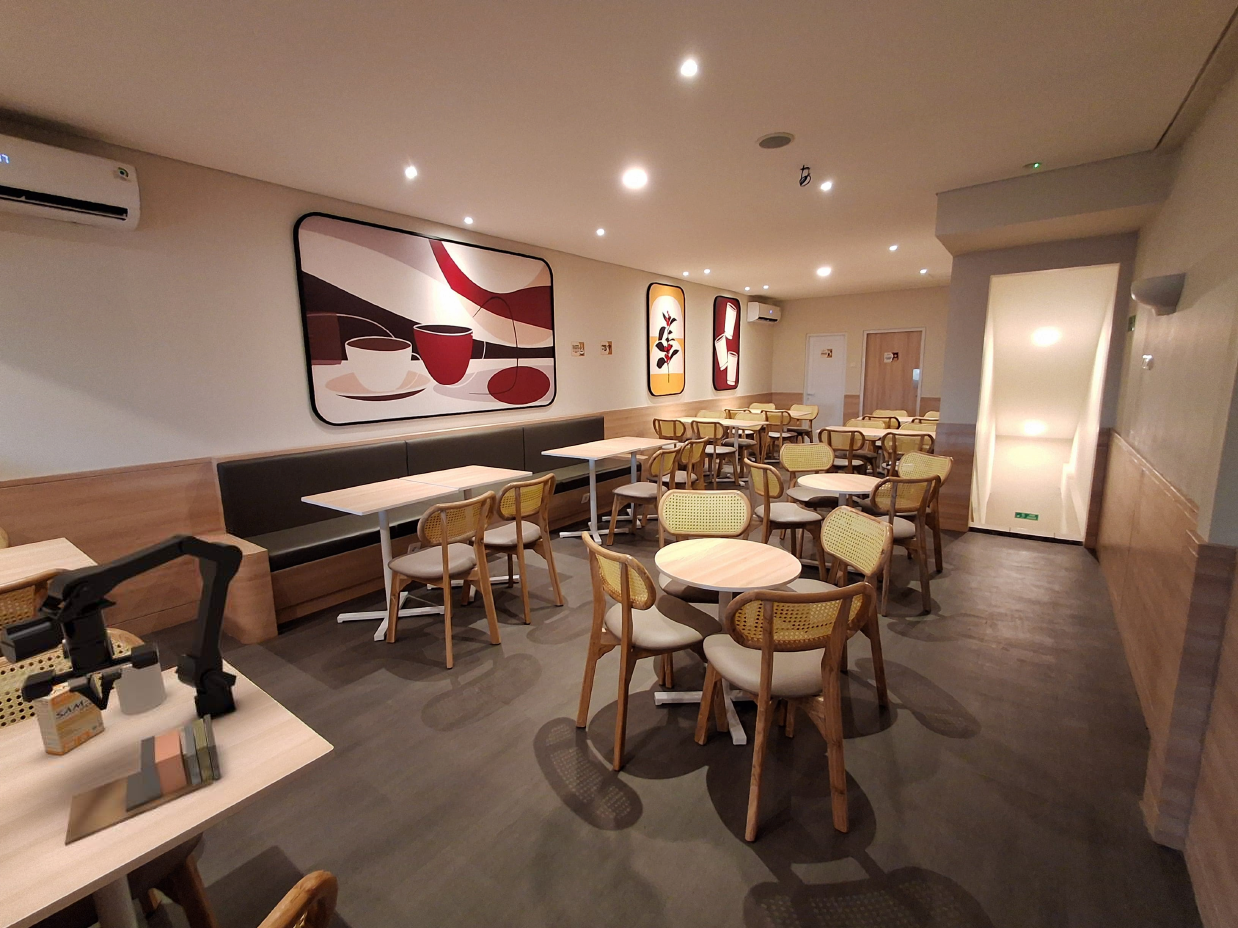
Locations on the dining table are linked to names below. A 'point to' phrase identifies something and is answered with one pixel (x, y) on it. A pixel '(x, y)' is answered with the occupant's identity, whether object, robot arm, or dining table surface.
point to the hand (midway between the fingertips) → (104, 708)
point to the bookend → (144, 778)
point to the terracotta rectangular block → (170, 762)
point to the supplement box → (66, 719)
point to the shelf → (110, 801)
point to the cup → (140, 689)
